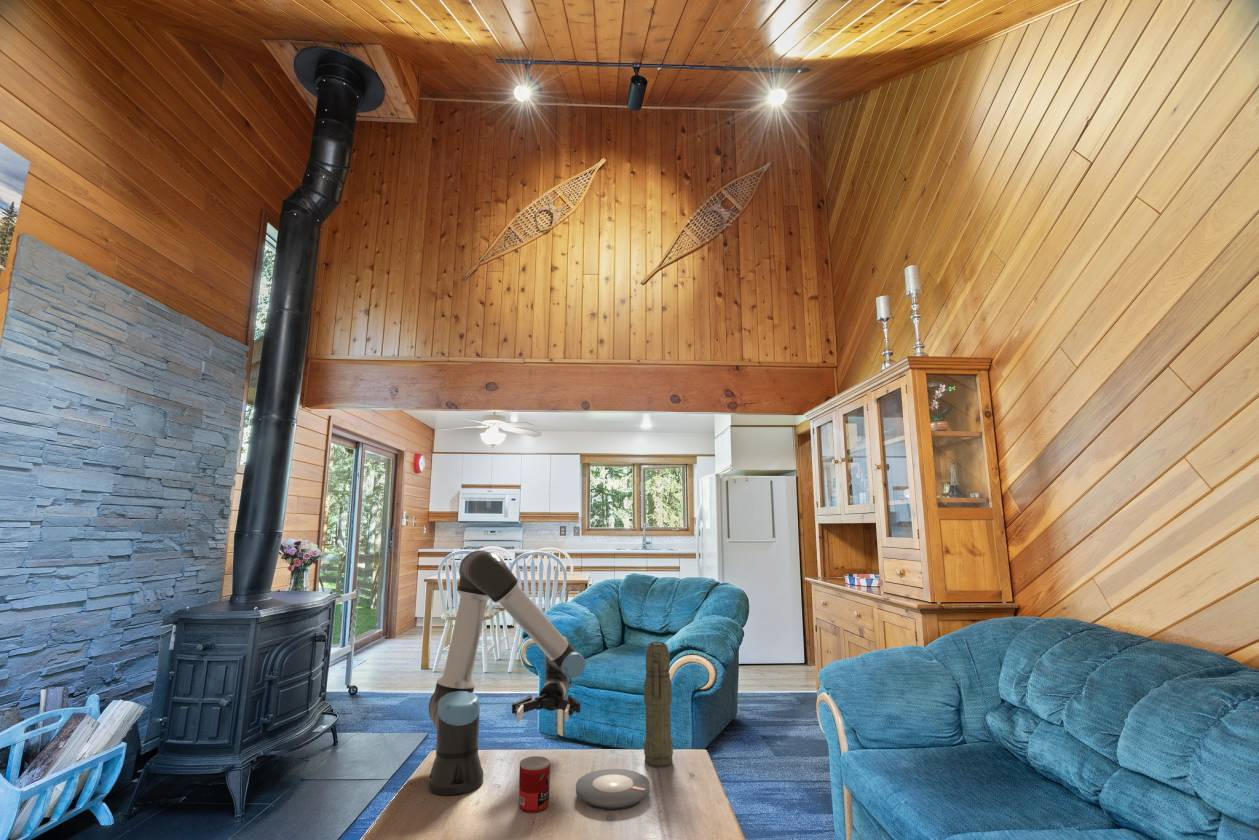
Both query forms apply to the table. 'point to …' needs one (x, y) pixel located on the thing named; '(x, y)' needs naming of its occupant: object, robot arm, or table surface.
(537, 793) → the canned food
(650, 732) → the olive brown statue
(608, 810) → the turntable base
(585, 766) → the table surface
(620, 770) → the turntable
